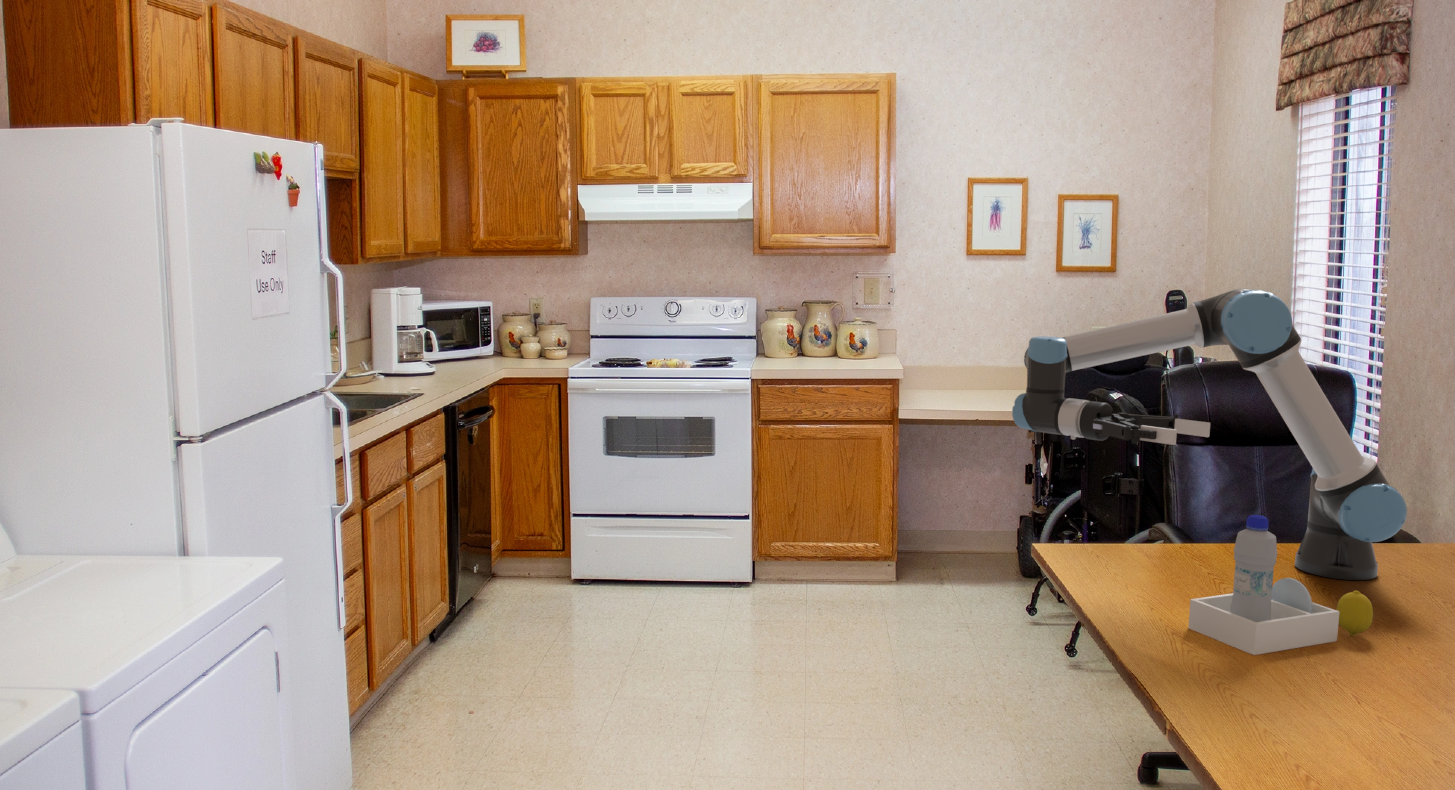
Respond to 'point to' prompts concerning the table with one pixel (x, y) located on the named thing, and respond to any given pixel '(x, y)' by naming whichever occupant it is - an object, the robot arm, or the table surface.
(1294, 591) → the divided tray
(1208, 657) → the table surface
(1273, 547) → the bottle
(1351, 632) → the lemon
